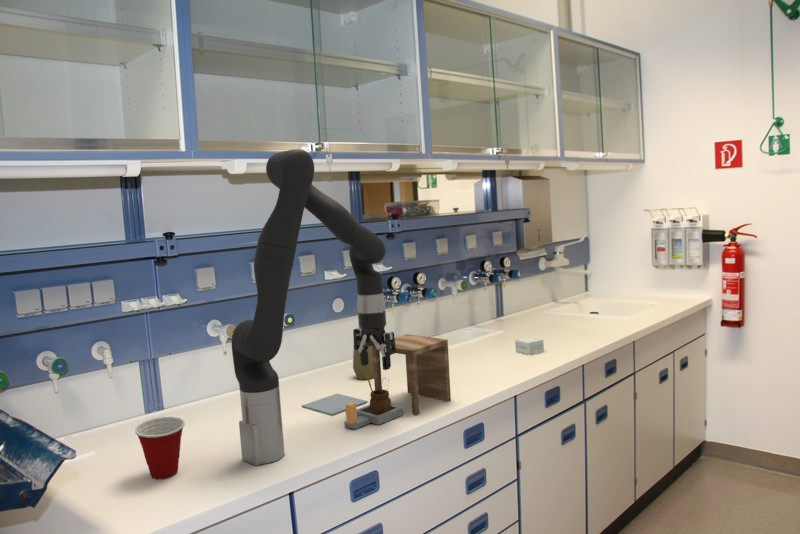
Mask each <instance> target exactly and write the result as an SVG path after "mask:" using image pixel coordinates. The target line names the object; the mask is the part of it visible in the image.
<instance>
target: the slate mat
mask: <svg viewBox="0 0 800 534" xmlns="http://www.w3.org/2000/svg"><path fill="white" fill-rule="evenodd" d="M348 403H355V404H356V408H357V407H360V406H362V405H366V404H368V403H369V401H368V400H365V399H360V398H357V397H354V396H348V395H345V394H341V393H334V394H332V395H328V396H326V397H322V398H320V399H317V400H314V401H311V402H308V403H305V404H302V405H301V407H302V408H304V409H307V410H311V411H315V412H318V413H320V414H325V415H327V416H332V417H333V416H335V415H338V414H341V413H344V412H346V406H345V404H348Z"/></svg>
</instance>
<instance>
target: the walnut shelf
mask: <svg viewBox="0 0 800 534" xmlns="http://www.w3.org/2000/svg"><path fill="white" fill-rule="evenodd" d="M394 338H395V347H396V353H395V354H399V355H405V368H406V370H405V371H406V385H407V386H406V387H407V394H409V393H410V394H409V395H410V401H411V402H410V403H411V415H412V414H413V416H418V414H419V415H420V414H421V411H420V397H422V396H423V397H424V398H428V399H431V398H433V400H436V399H437V400H436V401H440V400H442V402H445V401H447V402H446V403H449V402H451V400H452V399H451V394H452V393H451V380H450V379H451V378H450V377H451V376H450V359H449V358H450V357H449V341H448V339H446V338H441V337H440V338H438V337H433V336H432V337H431V336H423V335H415V334H410V333H409V334H403V335H400V336H396V337H394ZM382 345H383V343H382ZM390 348H391V346H390ZM384 350H385V349H384ZM391 350H392V349H391ZM372 353H373V368H374V377H373V382H374V390H382V389H383V384H382V383H383V380H382V370H381V369H382V368H381V367H382V366H381V352H380V351H379V350H378V349H377V348H376V347H373V346H372ZM381 382H382V383H381ZM423 397H422V398H423ZM448 401H449V402H448Z"/></svg>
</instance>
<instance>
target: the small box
mask: <svg viewBox="0 0 800 534" xmlns="http://www.w3.org/2000/svg"><path fill="white" fill-rule="evenodd" d="M514 343H515V353H516V352H517V354H520V353H521V355H524V356H528V355H529V356H528V357H531V356H533V355H534V354H535V355H540V354H544V353H545V348H544V343H545V342H544V339H541V338H536V337H531V336H529V337H527V336H526V337H523V338H518V339H515V340H514ZM543 352H544V353H543ZM530 355H531V356H530Z"/></svg>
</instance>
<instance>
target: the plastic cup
mask: <svg viewBox="0 0 800 534" xmlns="http://www.w3.org/2000/svg"><path fill="white" fill-rule="evenodd" d="M185 425H186V422H185V420H184V419H183V418H181V417H177V416H160V417H155V418H151V419H147V420H144V421H143V422H141V423H138V424H137V425H136V427H134V433H135V435H137V437H138V439H139V442H140V444H141V449H142V452H143V454H144V458H145V463H146V465H147V468H148V471H149V475H150V476H151V478H152V479H154V480H165V479H169V478H172V477H174V476H175V475H177V473H178V470H179V462H180V461H179V460H180V453H181V442H182V435H183V429H184V427H185Z"/></svg>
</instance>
